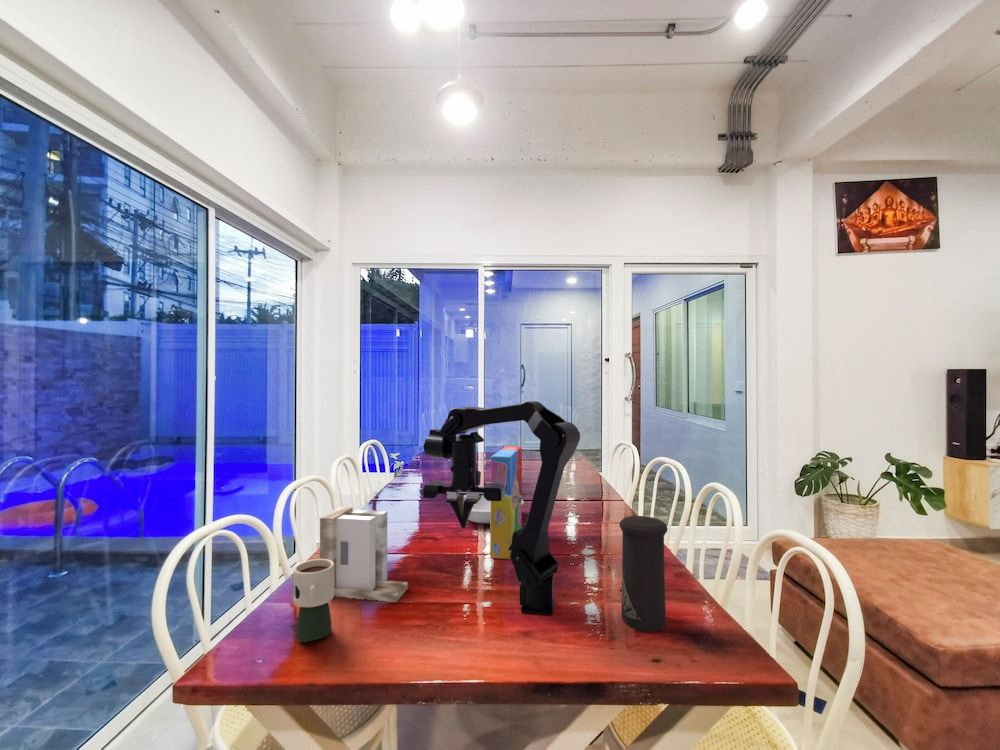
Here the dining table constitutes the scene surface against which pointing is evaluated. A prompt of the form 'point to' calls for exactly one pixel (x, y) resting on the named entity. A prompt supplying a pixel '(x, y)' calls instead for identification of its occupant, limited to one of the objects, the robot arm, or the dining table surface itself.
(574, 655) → the dining table surface
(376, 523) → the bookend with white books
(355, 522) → the door
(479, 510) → the soup bowl
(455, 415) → the robot arm
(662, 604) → the container
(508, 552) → the game box
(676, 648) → the dining table surface
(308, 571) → the character mug
